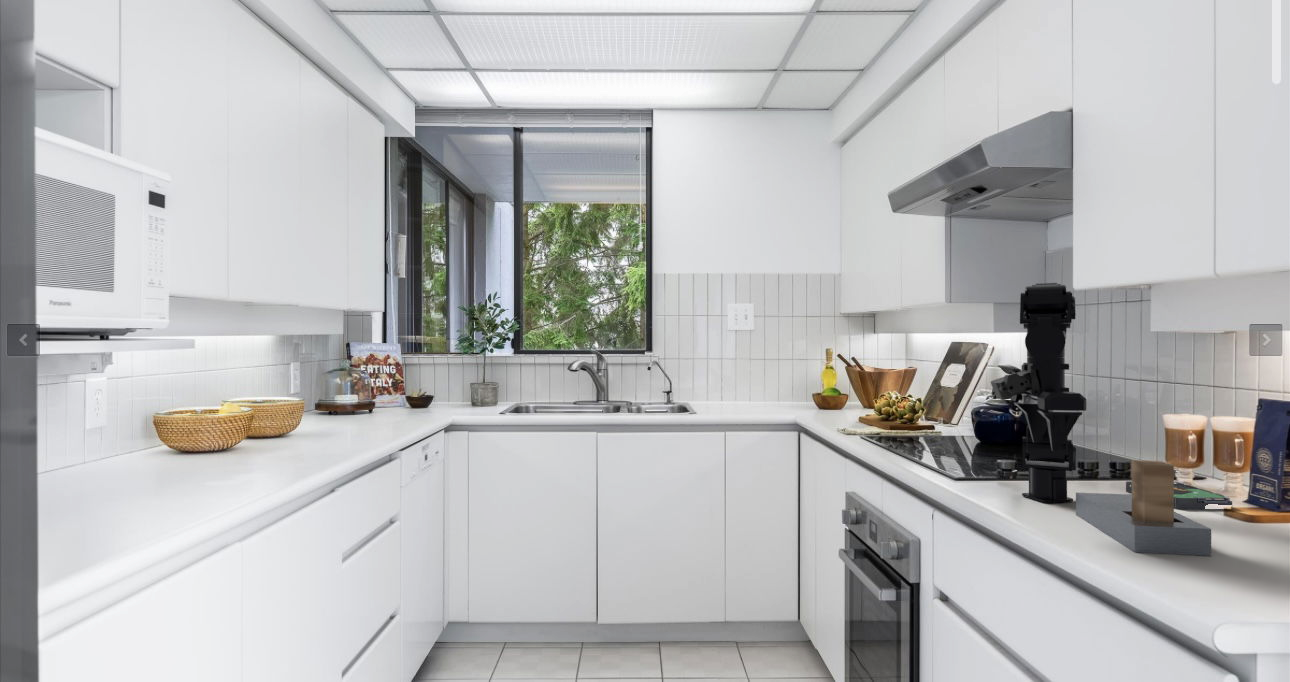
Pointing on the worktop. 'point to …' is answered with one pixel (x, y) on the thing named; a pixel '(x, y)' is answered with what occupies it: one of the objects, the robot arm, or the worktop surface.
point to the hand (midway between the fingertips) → (1045, 446)
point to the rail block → (1142, 526)
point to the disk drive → (1191, 497)
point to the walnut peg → (1152, 491)
